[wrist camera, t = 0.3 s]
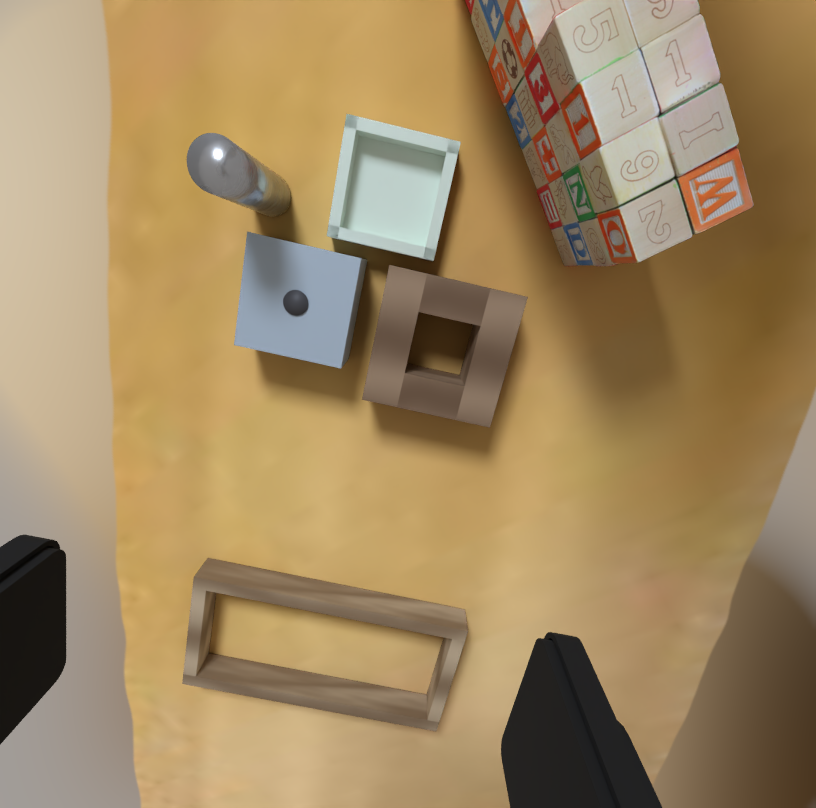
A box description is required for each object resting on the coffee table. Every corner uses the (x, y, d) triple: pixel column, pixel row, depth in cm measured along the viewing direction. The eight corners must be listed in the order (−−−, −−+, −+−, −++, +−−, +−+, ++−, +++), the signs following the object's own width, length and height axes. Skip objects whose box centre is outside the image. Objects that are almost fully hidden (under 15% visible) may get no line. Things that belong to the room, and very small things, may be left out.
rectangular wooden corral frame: (207, 557, 43) (193, 576, 40) (464, 609, 44) (468, 631, 41) (196, 659, 46) (182, 683, 44) (435, 705, 47) (436, 731, 45)
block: (265, 236, 35) (246, 231, 31) (367, 260, 35) (361, 258, 31) (252, 337, 37) (233, 345, 33) (348, 358, 37) (340, 368, 34)
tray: (350, 123, 33) (346, 113, 31) (458, 149, 33) (460, 141, 31) (331, 238, 35) (326, 235, 33) (432, 261, 35) (433, 260, 33)
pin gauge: (253, 169, 34) (189, 126, 24) (293, 178, 34) (245, 140, 24) (249, 211, 34) (184, 187, 25) (287, 220, 35) (238, 199, 25)
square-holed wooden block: (392, 265, 35) (389, 264, 32) (515, 294, 36) (527, 296, 32) (367, 386, 38) (362, 399, 34) (482, 412, 39) (489, 427, 35)
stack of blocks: (448, -30, 30) (469, -225, 18) (535, -84, 29) (616, -325, 18) (564, 268, 35) (639, 265, 24) (641, 230, 35) (759, 207, 23)
